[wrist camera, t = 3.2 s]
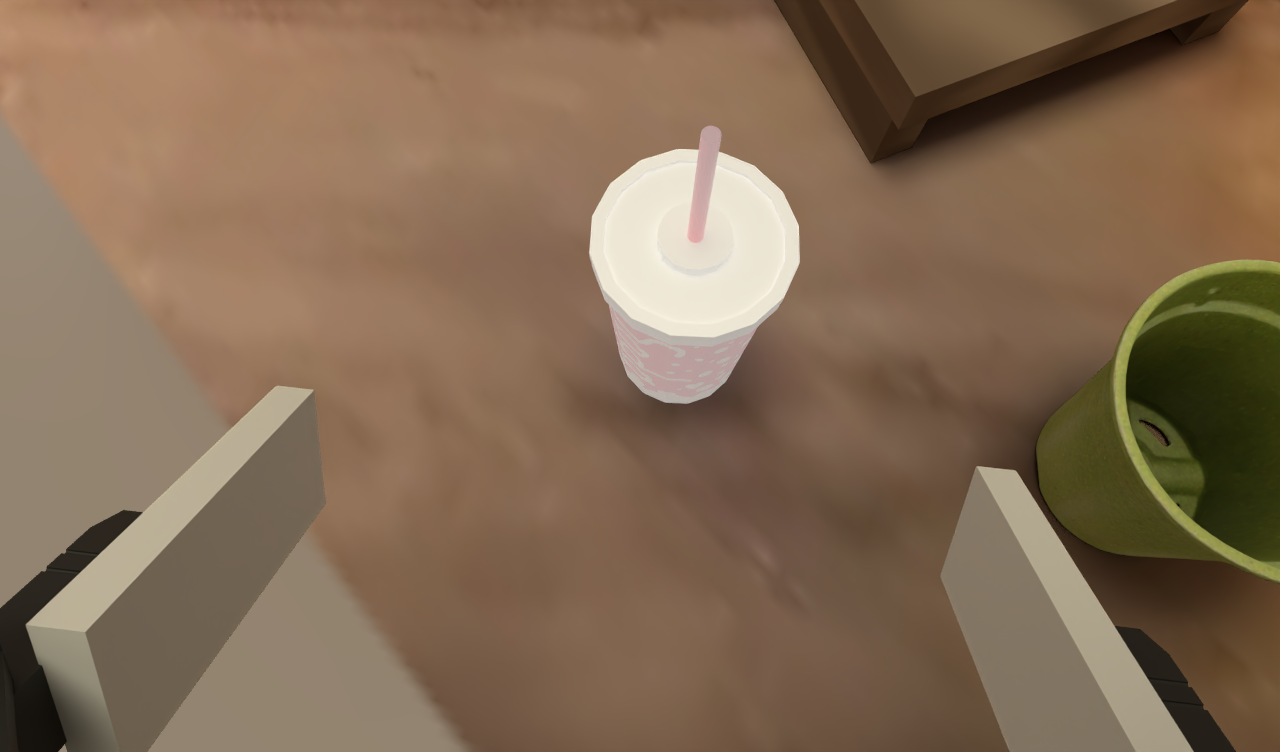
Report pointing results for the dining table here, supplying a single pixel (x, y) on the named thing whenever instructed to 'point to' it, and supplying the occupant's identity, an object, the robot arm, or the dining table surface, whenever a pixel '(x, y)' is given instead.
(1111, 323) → the dining table surface
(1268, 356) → the plant pot
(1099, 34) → the walnut shelf
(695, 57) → the dining table surface
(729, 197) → the beverage cup
